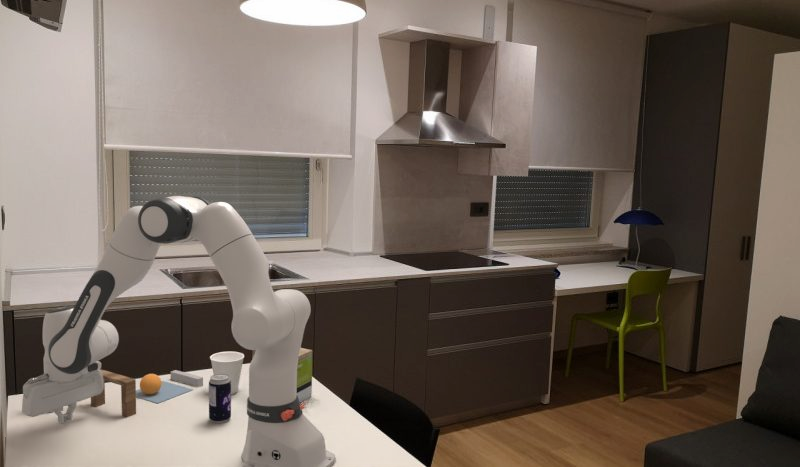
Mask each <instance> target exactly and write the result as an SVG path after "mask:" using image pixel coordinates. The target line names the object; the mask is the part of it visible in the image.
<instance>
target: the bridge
mask: <svg viewBox="0 0 800 467" xmlns="http://www.w3.org/2000/svg"><path fill="white" fill-rule="evenodd" d="M99 370H100V371H101V372H102V374H103V382H104V389H103V391H102V393H101V394H99V395H96V396H93V397H90V406H91V407H94V408H97V407H99V406H102V405H105V404H106V385H105V382H109V383H112V384H114V385H118V386H120V387H121V388H120V391H121V392H120V394H121V395H120V396H121V416H122V417H124V418H129V417H132V416H134V415H136V414H137V397H136V390H137V389H136V388H137V386H136V385H137V384H136V383H137V382H136V379H135V378H133V377H129V376H126V375H123V374H118V373H115V372H111V371H109V370H105V369H102V368H100V369H99Z"/></svg>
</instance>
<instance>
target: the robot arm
mask: <svg viewBox="0 0 800 467" xmlns="http://www.w3.org/2000/svg"><path fill="white" fill-rule="evenodd" d="M195 240H196V241H199V243H201V244H202V245H203V247H204V249H205V250H206V252H207V254H208V256H209V258H210V259H211V262H212V263H213V265H214V266H215V268H216V270H217V271H218V273H219V275H220V278H221V279H222V281H223V282H224V285H225V287H226V289H227V292H228V295H229V300H230V303H231V307H232V308H231V309H232V320H231V325H230V326H231V333H232V337H233V338H234V340H235V342H236V343H237V344H238V345H239V346H241V347H242V348H243V349H246V350H250V351H253V350H256V352H255V355H254V357H253V359H252V360H251V361H250V363H249V367H248V397H247V400H246V414H247V416H248V418H247V419H248V420H247V421H248V422H247V429H246V435H245V442H244V446H243V449H242V453H241V458H242V463H243V464H242V467H332V466H333V465H334V464H335V462H336V454H335V453H333V452H332V451H330V450H327V449H326V441H325V438H324V435H323V432H321V430H319V429H318V427H316V426H315V425H314V424H313V422H311V420H309V418H307V417H306V416H305V414H304V411H303V409H305V408H306V407H307V406H306V404H307V403H306V402H303V403H302V404H301V403H300V401H299V398H298V396H297V365H298V358H299V353H300V348H302V342H303V338H304V334H305V328H306V325H307V323H308V320H309V318H310V316H311V311H312V310H311V304H310V300H309V299H308V297H307V295H306V294H304V293H303V291H300V290H298V289H291V288H288V289H287V288H285V289H278V290H276V291H274V289H273V287H272V283H271V280H270V279H271V278H270V274H269V272H270V271H269V270H270V263H269V259H268V258H267V256H266V255H265V253H264V251H263V250H262V248H261V246H260V244H259V243H258V241H257V240H256V238H255V236H254V234H253V233H252V231H251V229H250V227H249V226H248V225H247V223H246V221H244V219H243V218H242V216H241V215H240V214H239V212H237V211H236V209H235V208H234V207H233V206H232V205H231V204H229V202H228V203H227V202H226V201H217V202H216V201H215V202H212V203H211V202H209V201H208V200H206V199H205V198H201V197H198V196H183V195H171V196H166V197H164V196H163V197H157V198H154V199H151V200H149V201H148V202H146V203H145V204H144V205H136V206H135V205H134V206H132V207H130V208H129V209H127V210H126V211H125V213H124V214H123V216H122V217H121V218H120V221H119V222H118V224H117V225H116V226H115V229H114V231H113V233H112V236H111V238H110V239H109V242H108V243H107V244H108V245H107V247H106V248H105V251H104V254H103V255H102V257H101V260H100V261H99V263H98V265H97V267H96V269H94V270H95V271H93V274H92V275H91V276H90V277H89V280H88V282H87V283H86V284H85V286H84V288H83V290H82V292H81V293H80V296H79V297H78V299H77V302H76V303H75V305H70V304H69V305H64V306H61V307H55V308H53V309H50V310H49V311H47V312H46V313H45V315H44V317H43V323H42V344H43V348H44V354H43V374H41V375H39V376H36V377H30V378H29V379H28V380H27V381H26V382H25V383H24V384H23V385H22V401H21V402H22V403H21V404H22V405H21V411H22V413H23V414H24V415H25V416H27V417H30V418H34V417H38V416H40V415H43V414H46V412H49V411H52V410H53V411H54V412H53V413H54V414H55V415H56V416H57V423H59V424H61V425H62V424H64V423H68V422H69V421H72V420H73V418H74V417H73V413H74V412H75V410H76V408H77V403H78V402H81V401H84V400H87V399H91V397H93V396H96V395H99V394H101V393H102V391H103V389H104V382H103V374H102V372H101V371H100V370H99V369H102V363H101V361H100V360H102V359H104V358H105V357H107V356H109V355H112V353H114V352H115V351H117V348H118V347H119V344H120V335H119V331H118V329H117V328H116V326H115V325H114V324H113V323H111V321H108V320H106V319H102V317H103V315H104V313H105V311H106V309H107V308H108V307H109V305H110V304H111V303H112V302H113V301H115V299H116V298H118V297H119V296H121V295H122V294H123V293H125V292H126V291H128V290H129V289H131V288H133V287H134V286H136V285H138V284H140V283H141V281H142V280H143V279H144V278H145V277H146V276H147V274H149V271H150V269H151V267H152V265H153V263H154V261H155V258H156V257H157V254H158V251H159V249H160V247H161V245H162V244H164V245H165V244H166V245H167V244H172V243H173V244H174V243H180V244H182V243H188V242H191V241H195ZM66 406H67V409H66V412H64V413H63V412H62V411H64V407H66Z"/></svg>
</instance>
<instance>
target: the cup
mask: <svg viewBox="0 0 800 467" xmlns="http://www.w3.org/2000/svg"><path fill="white" fill-rule="evenodd" d="M244 358H245V354H244V353H243V352H238V351H220V352H216V353H213V354H212V355H210V356H209V359H210V361H211V363H210V364H211V368H212V373H213V374H212V375H215V374H227V375H229V378H230V380H231V396H232V395H234V394H236V393H237V392H238V390H239V386H240V379H241V374H242V369H243V368H242V367H243V362H244Z"/></svg>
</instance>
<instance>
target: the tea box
mask: <svg viewBox="0 0 800 467" xmlns="http://www.w3.org/2000/svg"><path fill="white" fill-rule="evenodd" d="M255 352H256V350H252V355H251V356H252V359H253V357H254V355H255ZM312 388H313V350H312V349H309V348H308V349H307V348H304V347H301V348H300V353H299V358H298V365H297V396H298V398H299V401H300V404H301V403H302V402H304V401H306V400H308V399H309V398H311V397H312V396H313V395H312V392H313V391H312V390H313V389H312Z"/></svg>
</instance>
